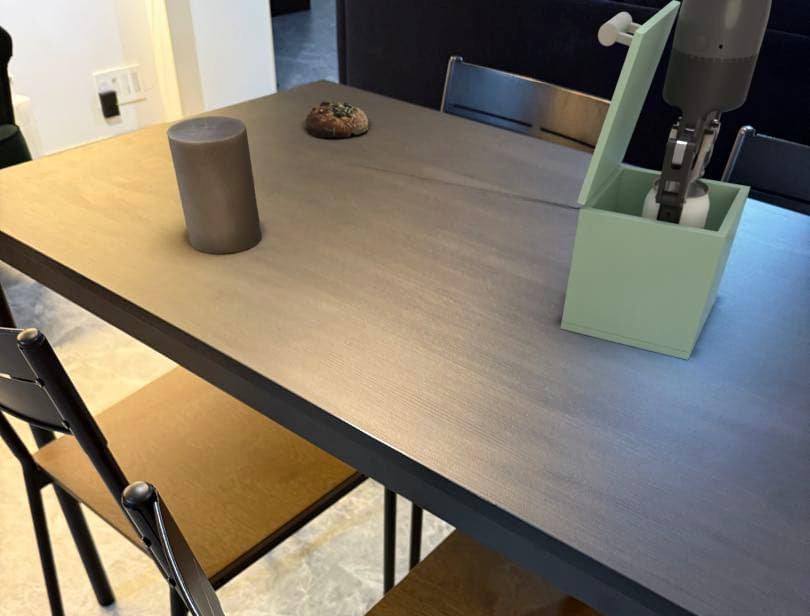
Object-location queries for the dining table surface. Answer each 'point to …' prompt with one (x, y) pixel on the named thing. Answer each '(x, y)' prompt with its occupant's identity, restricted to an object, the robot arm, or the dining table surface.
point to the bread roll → (336, 120)
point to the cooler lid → (627, 89)
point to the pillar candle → (215, 183)
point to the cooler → (647, 265)
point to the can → (692, 210)
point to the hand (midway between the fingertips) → (671, 227)
